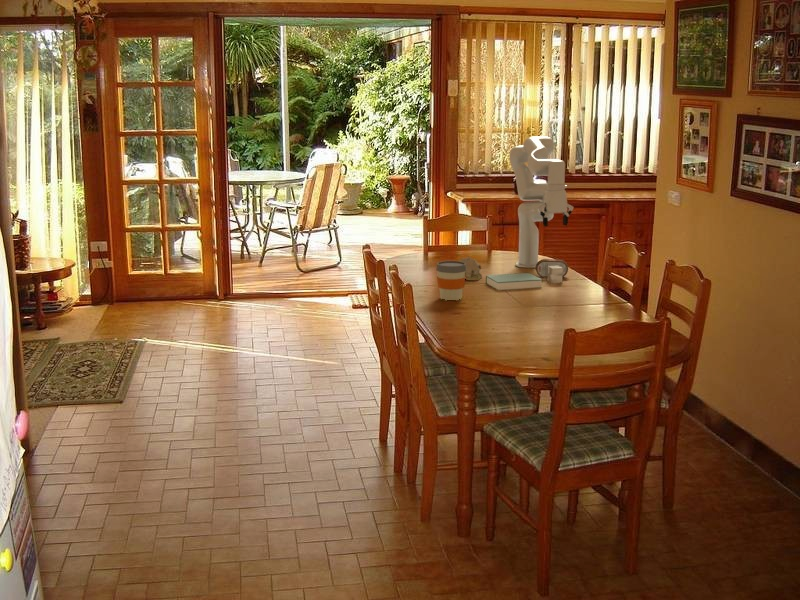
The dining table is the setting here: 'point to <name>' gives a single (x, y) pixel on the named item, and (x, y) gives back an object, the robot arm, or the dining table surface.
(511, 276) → the book
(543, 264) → the tin
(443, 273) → the reusable coffee cup
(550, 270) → the block
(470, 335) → the dining table surface
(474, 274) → the ceramic model
